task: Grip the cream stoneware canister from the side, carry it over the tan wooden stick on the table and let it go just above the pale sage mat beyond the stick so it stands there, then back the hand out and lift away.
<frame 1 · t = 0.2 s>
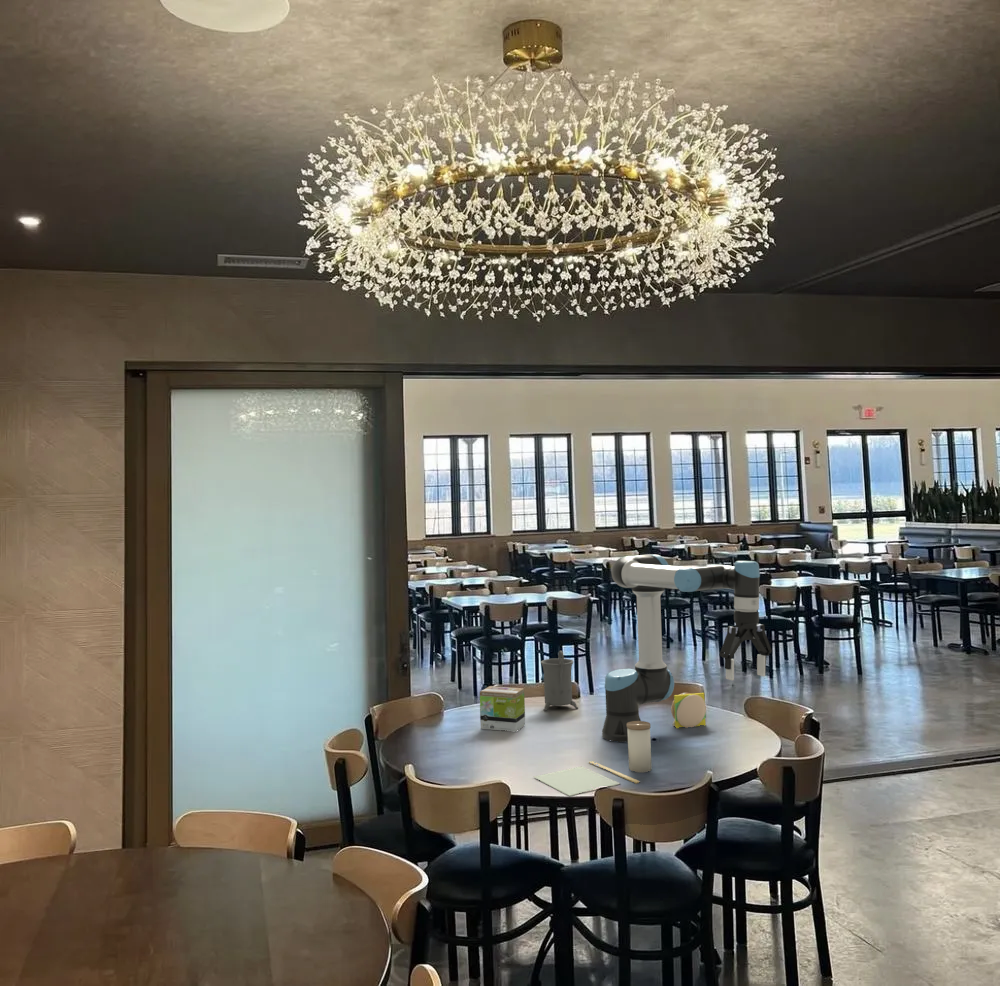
hand: (745, 677, 252), 27 cm above the table, tool pointing down, fingers open, 13 cm apart
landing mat: (575, 780, 241), on the table
tea box: (503, 728, 305), on the table
canister: (640, 768, 250), on the table
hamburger: (688, 726, 299), on the table
tan wooden stick: (613, 772, 248), on the table
grey footed bucket: (559, 708, 333), on the table
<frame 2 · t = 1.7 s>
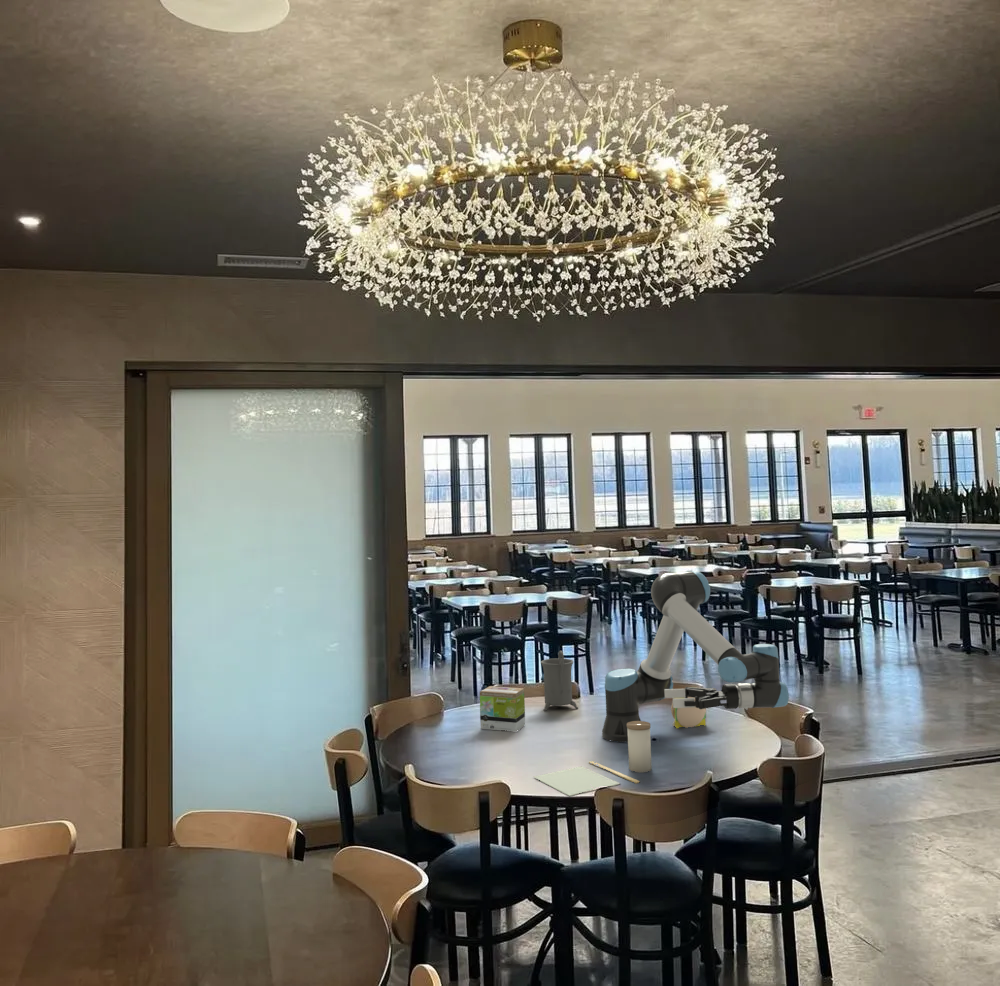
hand: (668, 698, 251), 22 cm above the table, tool horizontal, fingers open, 13 cm apart
nothing on the table moved.
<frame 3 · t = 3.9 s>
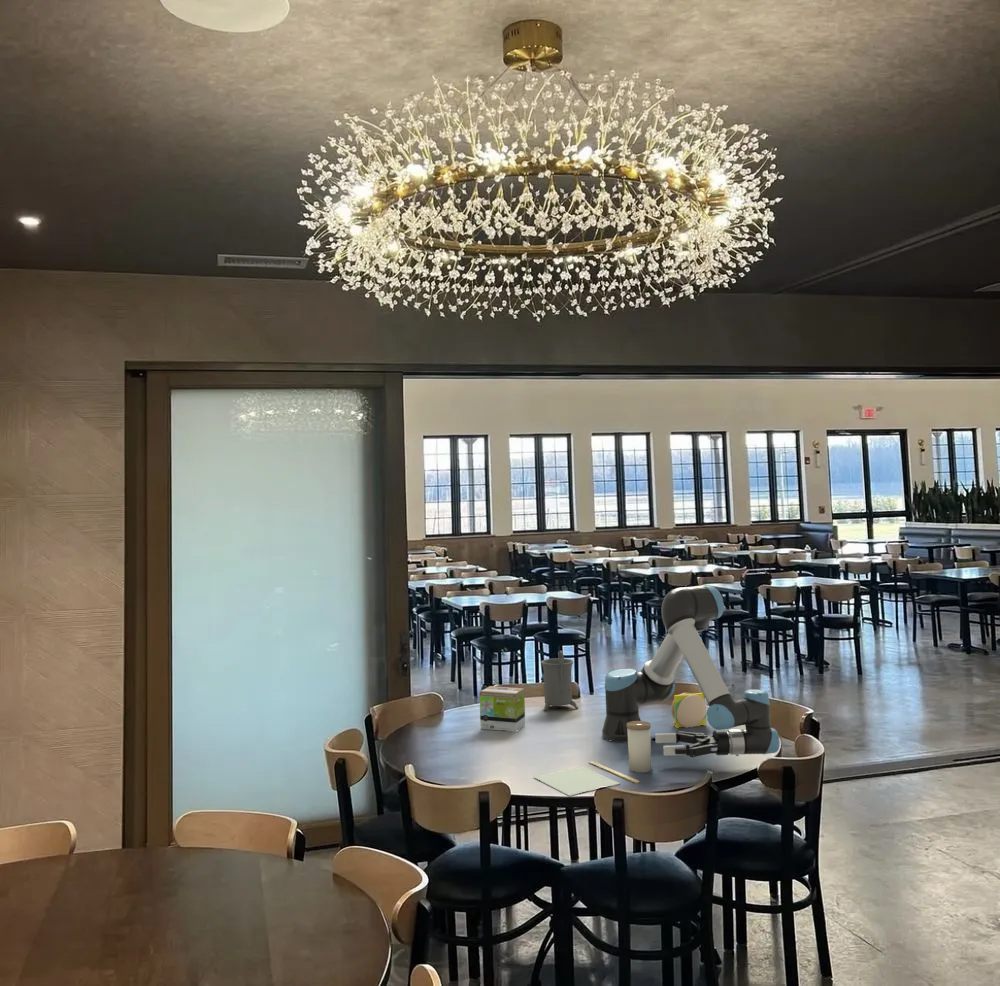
hand: (659, 744, 250), 8 cm above the table, tool horizontal, fingers open, 13 cm apart
nothing on the table moved.
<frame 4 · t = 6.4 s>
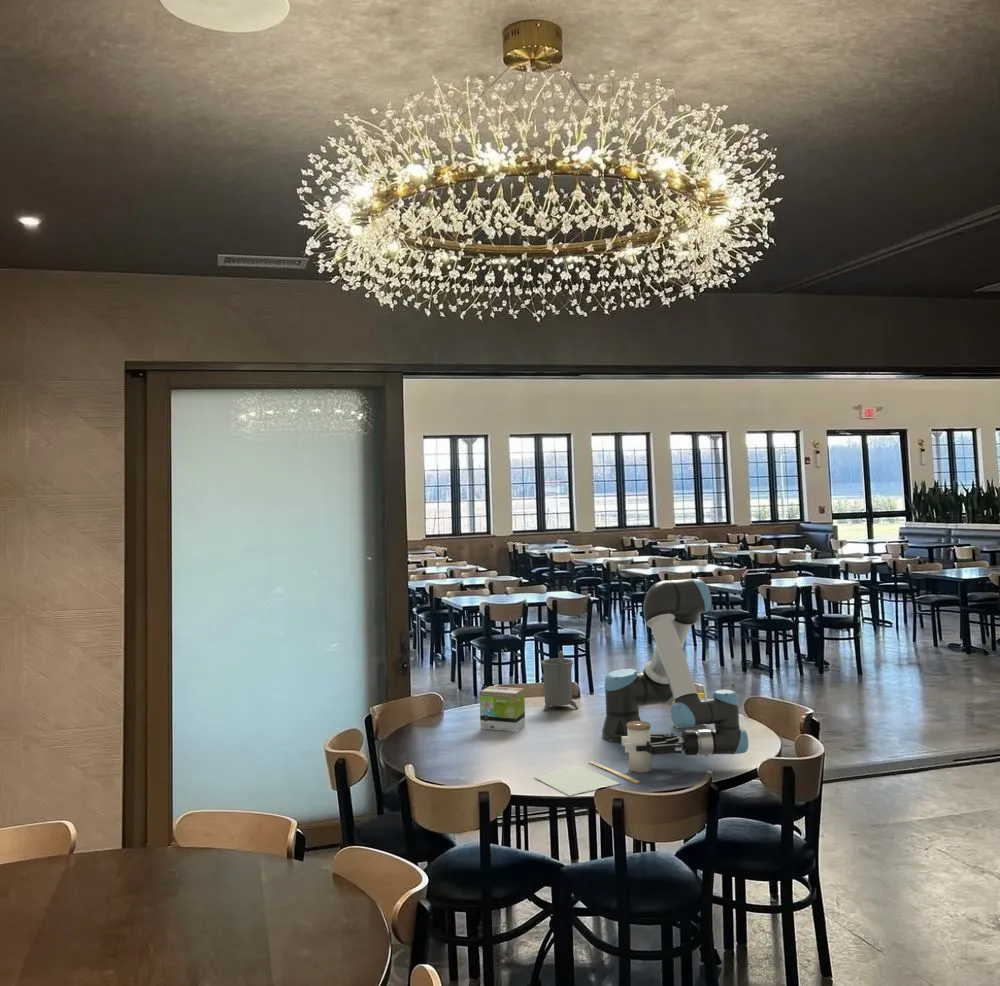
hand: (623, 744, 251), 8 cm above the table, tool horizontal, fingers closed on canister, 7 cm apart
canister: (640, 768, 250), on the table, touching gripper
everything else where it was.
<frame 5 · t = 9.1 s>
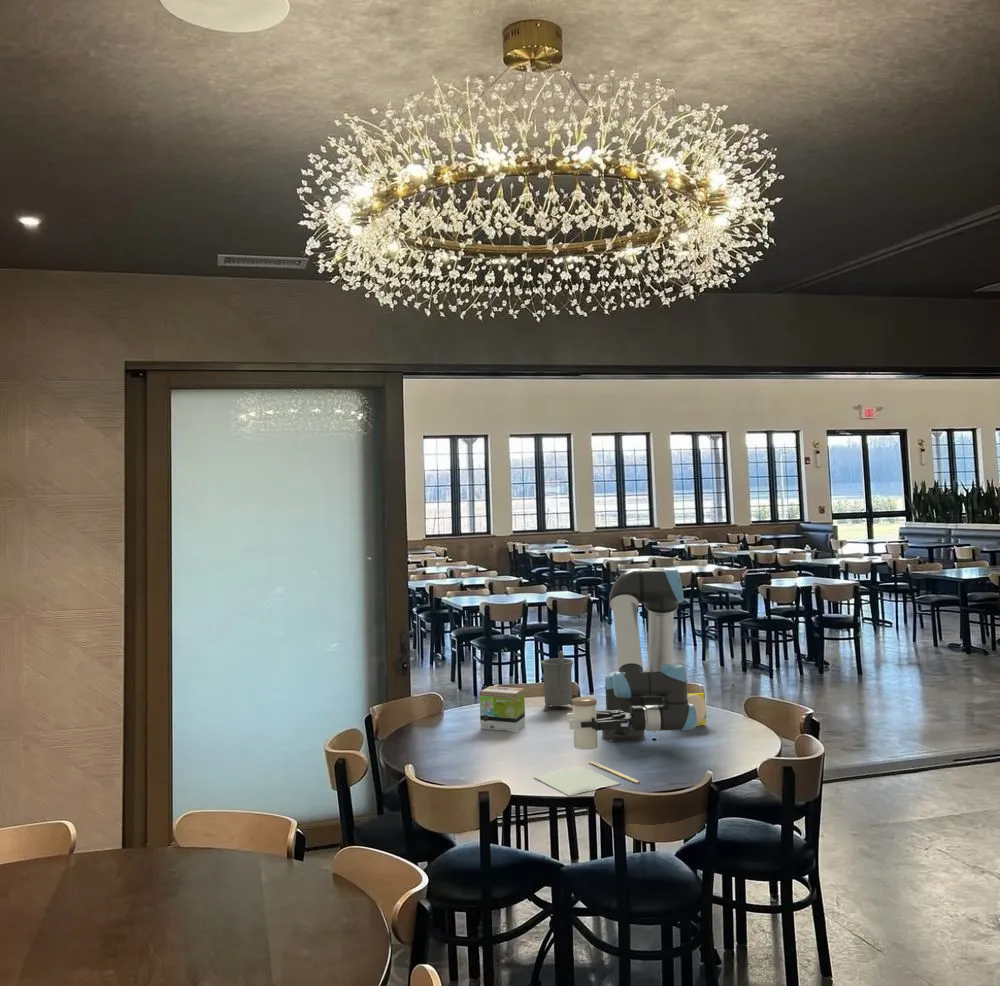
hand: (568, 721, 241), 18 cm above the table, tool horizontal, fingers closed on canister, 7 cm apart
canister: (585, 746, 241), point 10 cm above the table, touching gripper
everything else where it was.
when the fingers open (9 cm above the table, at t = 11.8 s): canister drops 1 cm, resting on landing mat.
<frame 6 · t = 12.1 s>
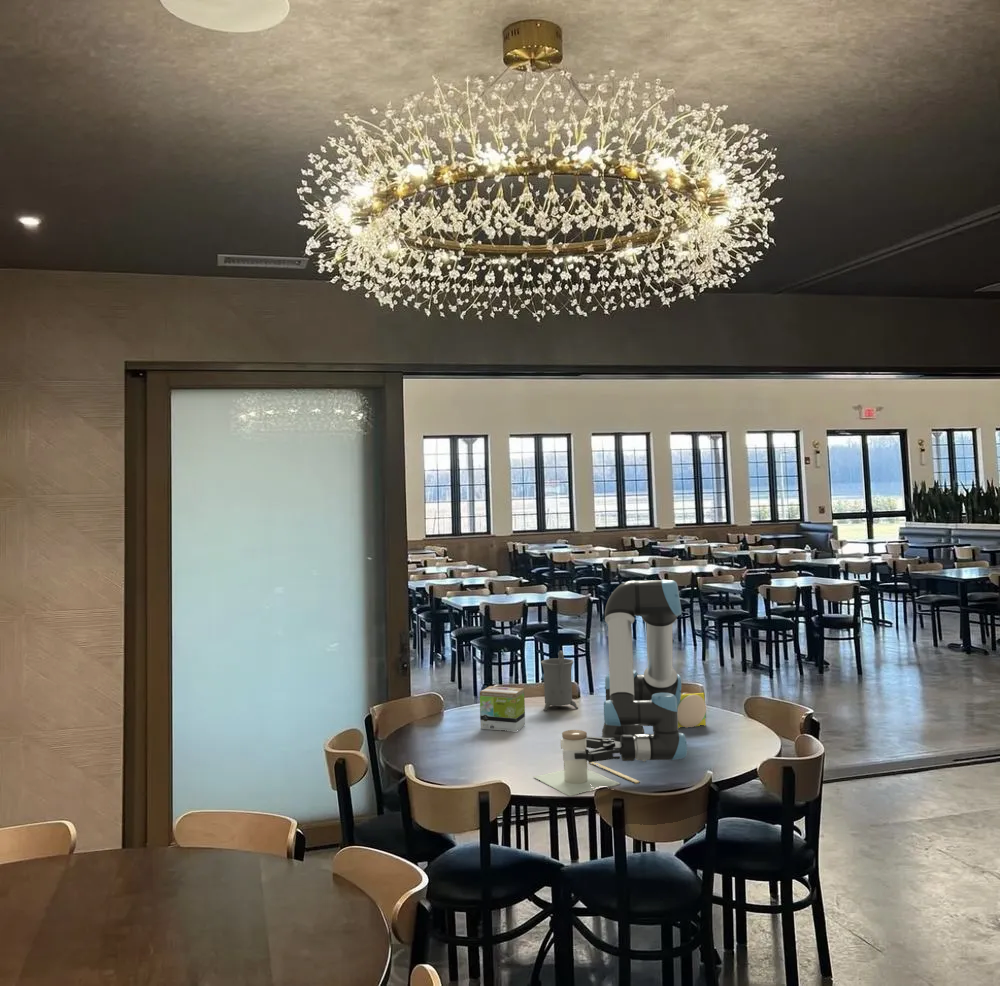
hand: (561, 749, 241), 9 cm above the table, tool horizontal, fingers open, 11 cm apart
canister: (576, 779, 241), resting on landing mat
everything else where it was.
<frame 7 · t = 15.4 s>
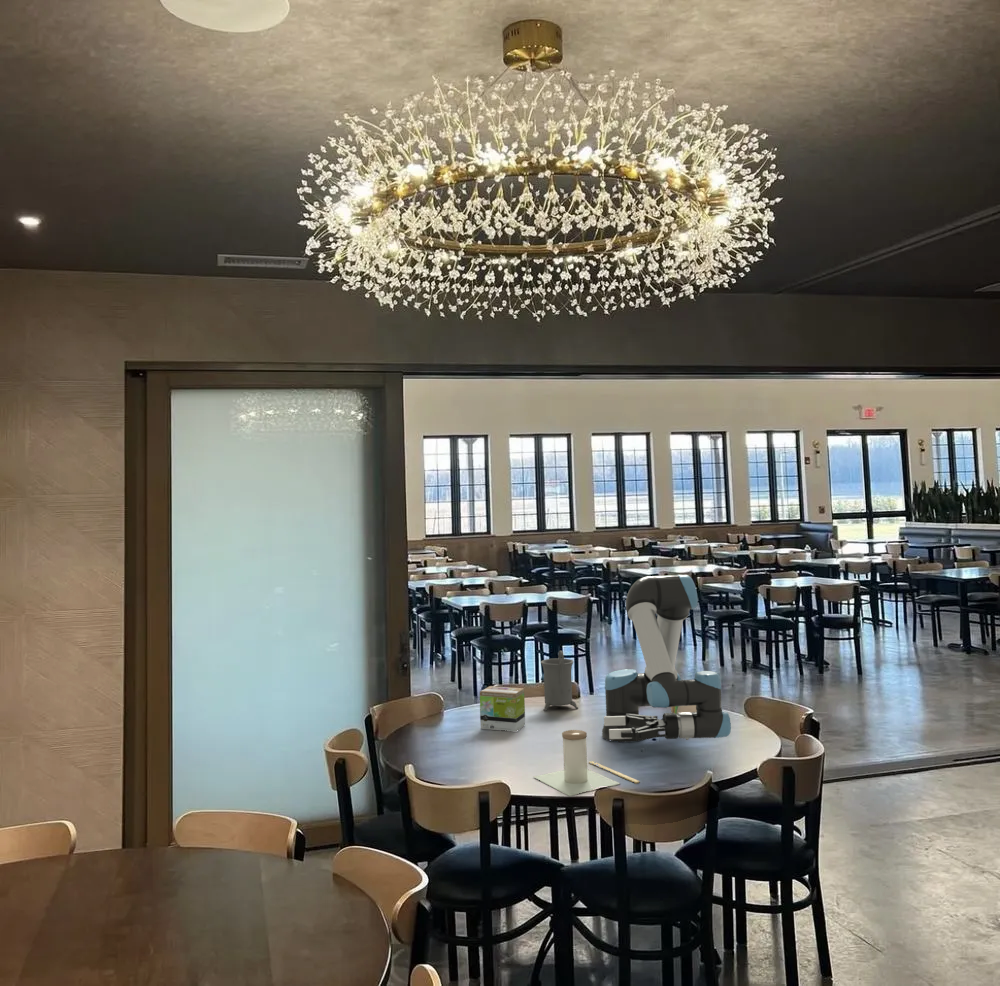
hand: (606, 727, 241), 16 cm above the table, tool horizontal, fingers open, 13 cm apart
nothing on the table moved.
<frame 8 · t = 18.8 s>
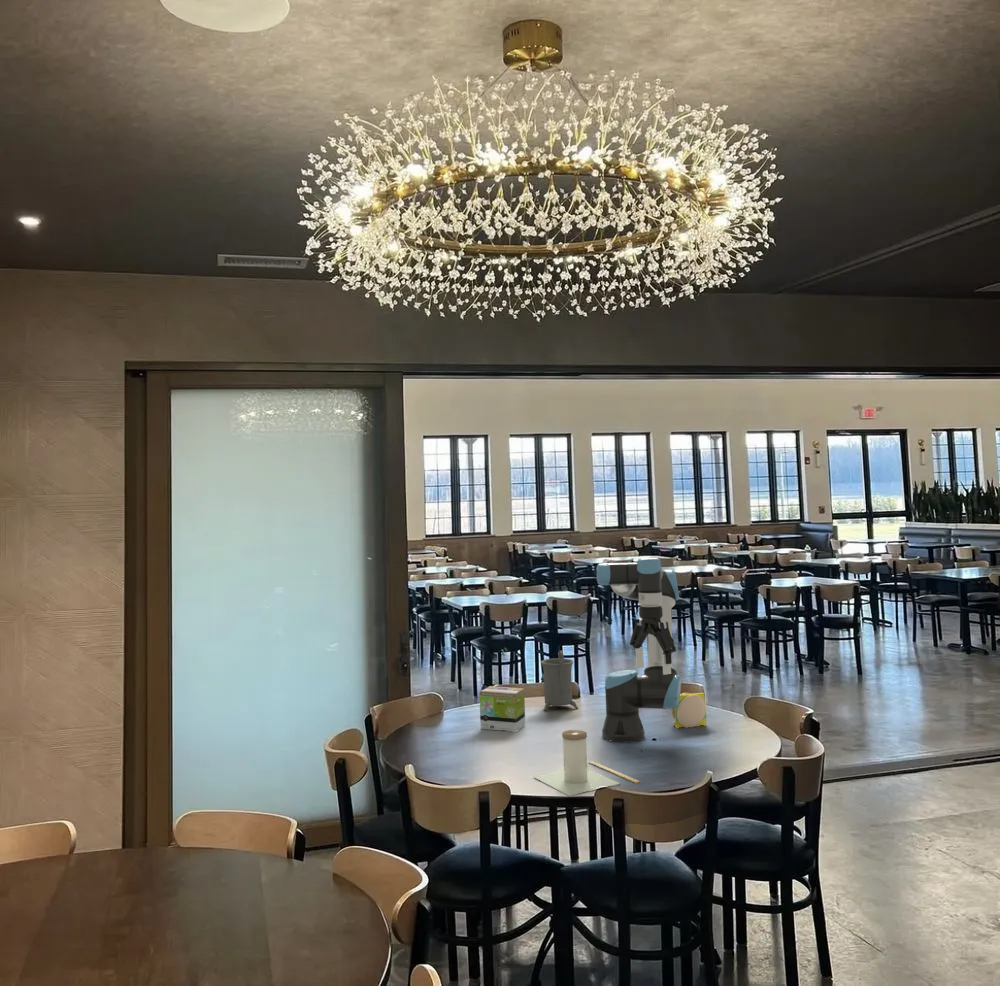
hand: (653, 671, 259), 29 cm above the table, tool pointing down, fingers open, 13 cm apart
nothing on the table moved.
at the end: canister inside the target area (0.6 cm from its centre), resting on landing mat; canister tilted 0°; the gripper is holding nothing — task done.
